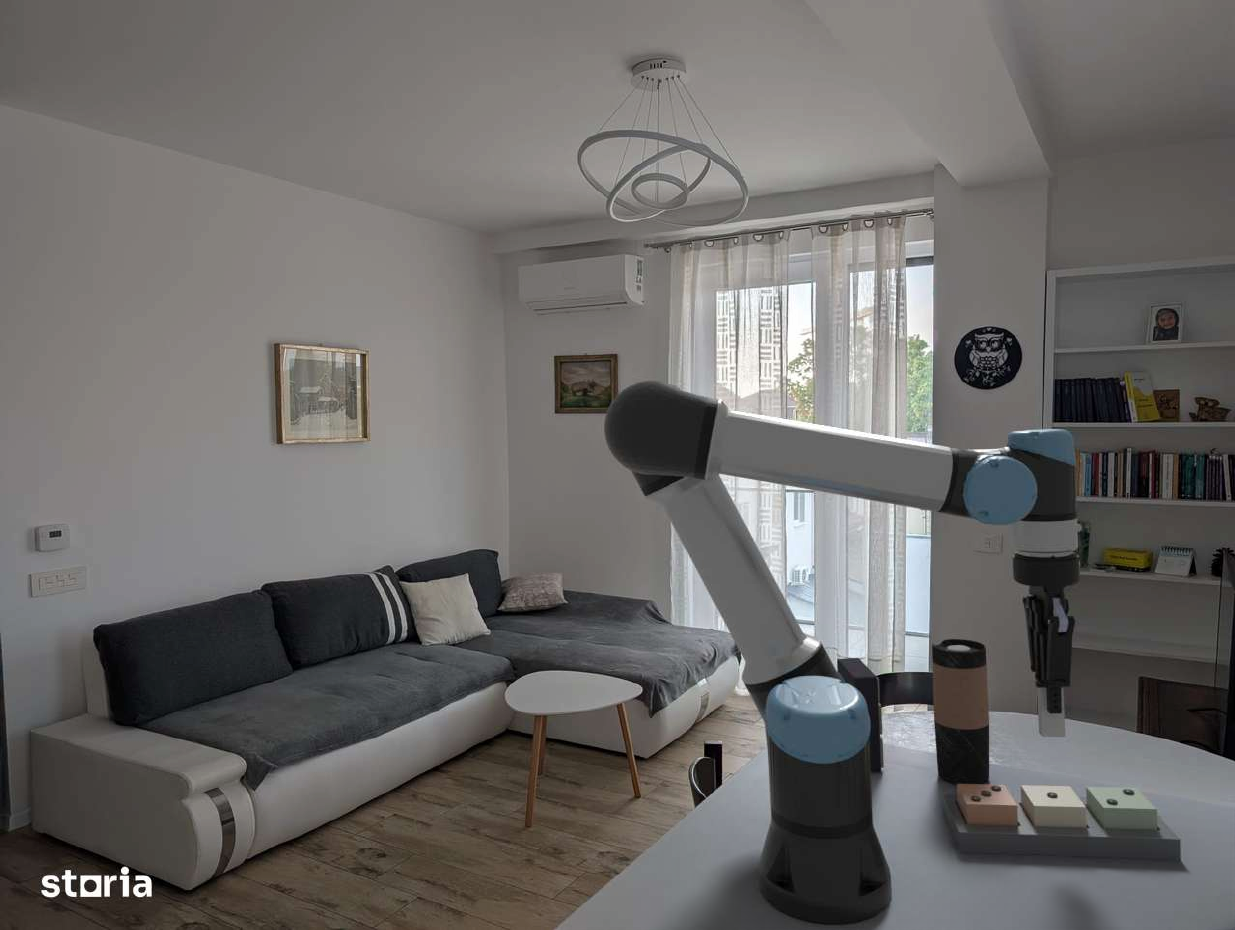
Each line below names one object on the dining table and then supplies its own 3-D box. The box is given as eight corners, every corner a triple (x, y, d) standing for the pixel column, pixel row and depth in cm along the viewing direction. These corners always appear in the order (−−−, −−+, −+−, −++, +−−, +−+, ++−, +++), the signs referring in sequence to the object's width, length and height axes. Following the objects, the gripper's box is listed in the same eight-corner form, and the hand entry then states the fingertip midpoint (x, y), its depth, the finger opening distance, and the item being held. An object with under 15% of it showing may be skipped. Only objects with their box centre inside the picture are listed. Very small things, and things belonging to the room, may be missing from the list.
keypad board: (959, 851, 106) (959, 832, 106) (942, 811, 117) (942, 793, 117) (1180, 859, 102) (1180, 839, 101) (1142, 816, 112) (1141, 798, 112)
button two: (1104, 831, 105) (1103, 806, 105) (1086, 809, 111) (1086, 785, 111) (1157, 833, 104) (1156, 807, 104) (1137, 810, 110) (1136, 786, 110)
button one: (1034, 829, 107) (1034, 804, 107) (1021, 807, 113) (1020, 783, 113) (1086, 830, 106) (1086, 805, 106) (1070, 808, 112) (1069, 784, 111)
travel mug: (996, 788, 123) (991, 652, 122) (940, 787, 124) (935, 652, 123) (984, 767, 130) (980, 638, 129) (932, 765, 132) (927, 638, 131)
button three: (967, 826, 108) (966, 802, 108) (957, 805, 114) (956, 782, 114) (1017, 828, 107) (1017, 803, 107) (1005, 806, 113) (1004, 783, 113)
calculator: (886, 772, 130) (882, 676, 130) (858, 774, 130) (854, 678, 130) (866, 745, 141) (862, 656, 141) (840, 746, 141) (836, 658, 141)
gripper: (1096, 559, 100) (1103, 755, 102) (1060, 542, 113) (1066, 716, 114) (1028, 561, 102) (1035, 754, 103) (1000, 544, 115) (1007, 716, 116)
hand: (1052, 734), depth 109 cm, fingers closed
